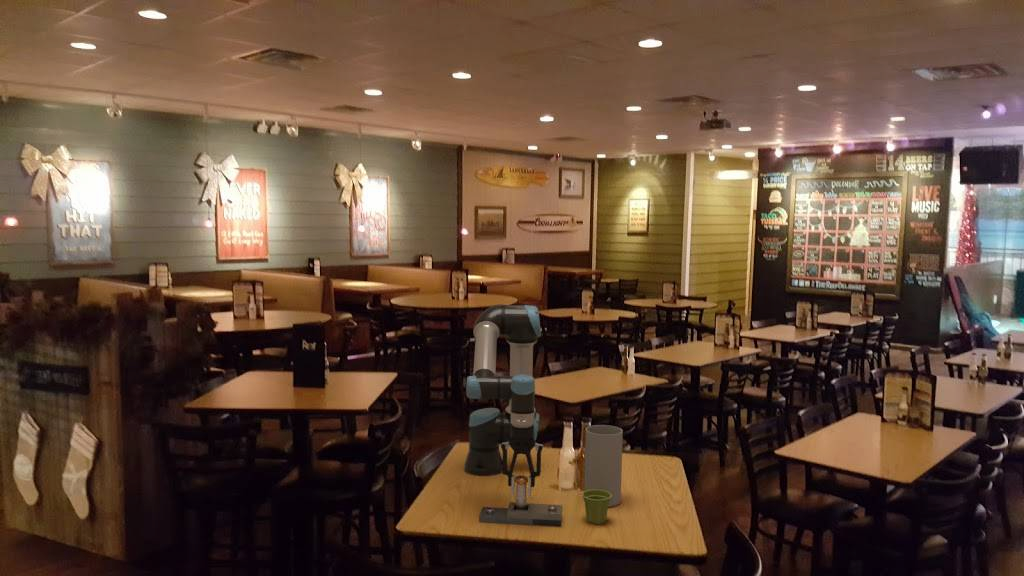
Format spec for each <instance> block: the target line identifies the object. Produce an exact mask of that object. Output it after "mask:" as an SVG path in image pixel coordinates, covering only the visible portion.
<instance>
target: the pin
mask: <svg viewBox="0 0 1024 576" xmlns="http://www.w3.org/2000/svg"><path fill="white" fill-rule="evenodd" d="M528 478H529V476H526V475H515V484H516V487H515V488H516V491H515V493H516V494H515V497H516V499H515V503H516V510H526V503H527V483H528Z"/></svg>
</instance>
